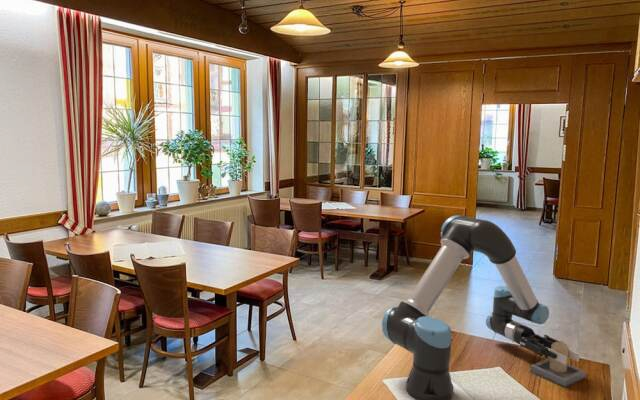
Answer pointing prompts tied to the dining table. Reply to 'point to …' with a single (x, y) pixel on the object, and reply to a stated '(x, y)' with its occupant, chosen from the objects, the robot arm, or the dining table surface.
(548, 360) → the charcoal dish
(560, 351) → the candle
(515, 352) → the dining table surface
